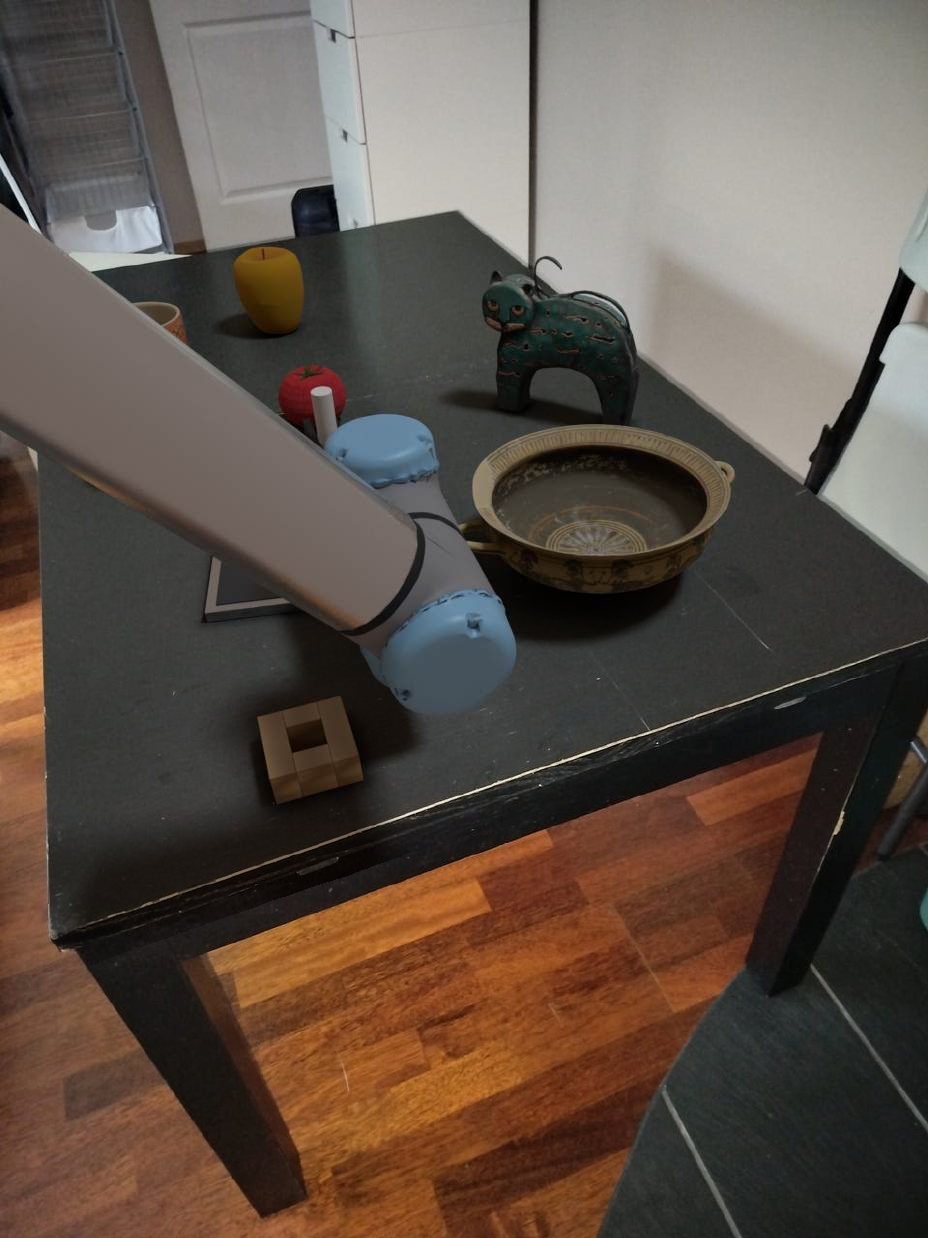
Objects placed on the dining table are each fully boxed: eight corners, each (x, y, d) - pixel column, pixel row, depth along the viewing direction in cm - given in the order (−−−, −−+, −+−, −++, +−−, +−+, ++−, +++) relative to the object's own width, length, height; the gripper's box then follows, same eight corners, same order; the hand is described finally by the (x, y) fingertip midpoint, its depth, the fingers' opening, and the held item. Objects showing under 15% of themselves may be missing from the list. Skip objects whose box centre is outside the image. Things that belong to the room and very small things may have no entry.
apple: (234, 327, 142) (216, 246, 134) (293, 312, 146) (280, 232, 138) (260, 348, 135) (243, 263, 126) (322, 331, 139) (309, 248, 131)
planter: (106, 417, 118) (80, 339, 111) (116, 380, 128) (93, 306, 121) (198, 405, 120) (177, 328, 113) (201, 369, 129) (182, 296, 122)
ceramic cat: (482, 410, 115) (476, 255, 102) (503, 391, 119) (500, 239, 106) (624, 438, 107) (637, 274, 94) (641, 416, 111) (656, 256, 98)
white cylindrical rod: (332, 526, 91) (310, 396, 81) (331, 516, 93) (310, 387, 83) (350, 524, 91) (331, 394, 82) (350, 514, 93) (331, 385, 83)
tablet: (207, 622, 83) (204, 612, 82) (225, 494, 101) (222, 484, 100) (392, 599, 84) (391, 589, 83) (377, 476, 103) (375, 467, 102)
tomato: (341, 402, 118) (333, 346, 113) (357, 430, 112) (349, 371, 107) (278, 415, 116) (266, 358, 111) (290, 443, 110) (279, 384, 105)
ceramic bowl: (666, 479, 99) (675, 399, 93) (792, 598, 81) (814, 509, 75) (417, 537, 92) (409, 455, 86) (496, 681, 75) (493, 590, 68)
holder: (276, 804, 65) (269, 779, 64) (264, 742, 70) (257, 716, 69) (363, 780, 67) (358, 754, 65) (345, 720, 72) (340, 695, 70)
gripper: (292, 602, 74) (256, 473, 91) (458, 564, 77) (392, 446, 95) (276, 529, 69) (241, 408, 87) (453, 492, 72) (385, 382, 90)
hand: (320, 428), depth 91 cm, fingers closed on white cylindrical rod, 2 cm apart
